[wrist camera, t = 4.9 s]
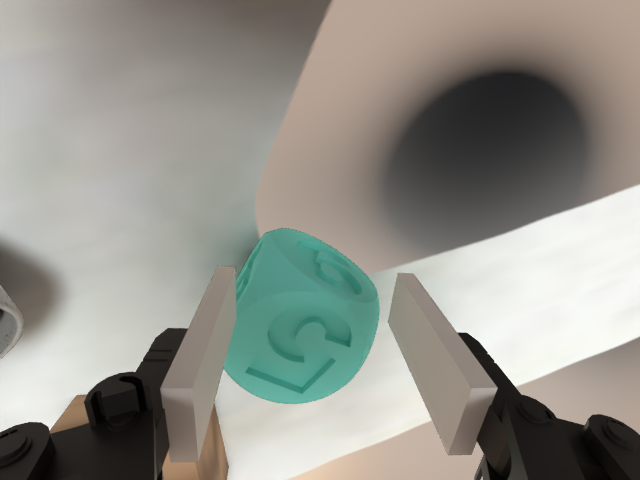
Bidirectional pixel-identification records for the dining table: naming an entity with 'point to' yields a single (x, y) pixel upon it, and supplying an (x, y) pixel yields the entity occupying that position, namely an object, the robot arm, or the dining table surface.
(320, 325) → the decorative dice
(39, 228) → the dining table surface
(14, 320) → the ceramic mug
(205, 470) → the base block
